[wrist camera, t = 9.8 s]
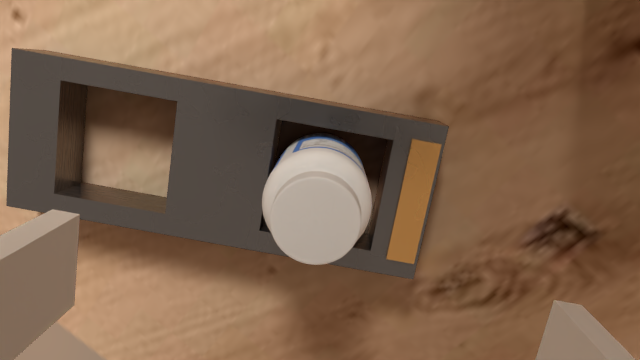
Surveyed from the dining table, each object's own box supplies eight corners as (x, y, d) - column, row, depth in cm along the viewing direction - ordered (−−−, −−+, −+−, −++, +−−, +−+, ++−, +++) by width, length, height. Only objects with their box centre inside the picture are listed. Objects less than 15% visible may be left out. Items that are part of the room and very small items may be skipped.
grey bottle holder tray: (44, 50, 30) (9, 47, 27) (438, 120, 30) (449, 126, 27) (37, 193, 32) (4, 206, 29) (406, 259, 32) (413, 280, 29)
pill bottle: (314, 233, 32) (303, 305, 22) (259, 168, 31) (223, 214, 21) (383, 181, 31) (402, 233, 21) (328, 112, 30) (323, 135, 20)
